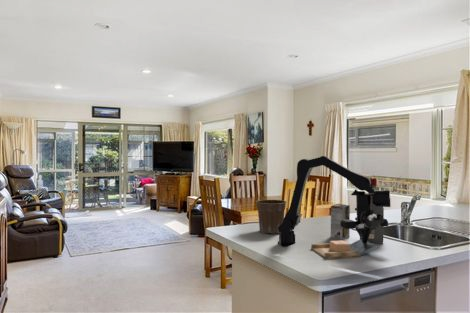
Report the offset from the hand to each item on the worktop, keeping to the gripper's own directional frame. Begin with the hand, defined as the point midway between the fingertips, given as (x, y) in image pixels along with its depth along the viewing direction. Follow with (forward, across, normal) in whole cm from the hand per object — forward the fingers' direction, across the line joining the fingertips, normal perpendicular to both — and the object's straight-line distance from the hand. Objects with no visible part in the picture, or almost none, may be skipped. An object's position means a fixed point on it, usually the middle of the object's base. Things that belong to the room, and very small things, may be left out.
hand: (364, 243), depth 146 cm
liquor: (+5, +13, +17) cm, 22 cm away
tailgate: (+2, -2, 0) cm, 3 cm away
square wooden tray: (+4, -14, 0) cm, 15 cm away
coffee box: (+4, +2, +27) cm, 27 cm away
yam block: (+2, -11, 0) cm, 11 cm away
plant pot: (+3, -28, +45) cm, 53 cm away
